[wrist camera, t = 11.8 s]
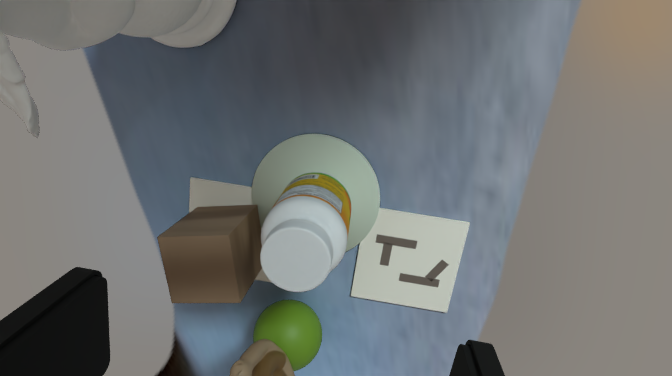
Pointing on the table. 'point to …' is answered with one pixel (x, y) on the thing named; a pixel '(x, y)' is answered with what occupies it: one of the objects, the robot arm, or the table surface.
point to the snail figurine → (281, 341)
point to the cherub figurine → (97, 32)
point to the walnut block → (212, 254)
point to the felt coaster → (320, 157)
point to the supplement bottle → (306, 232)
